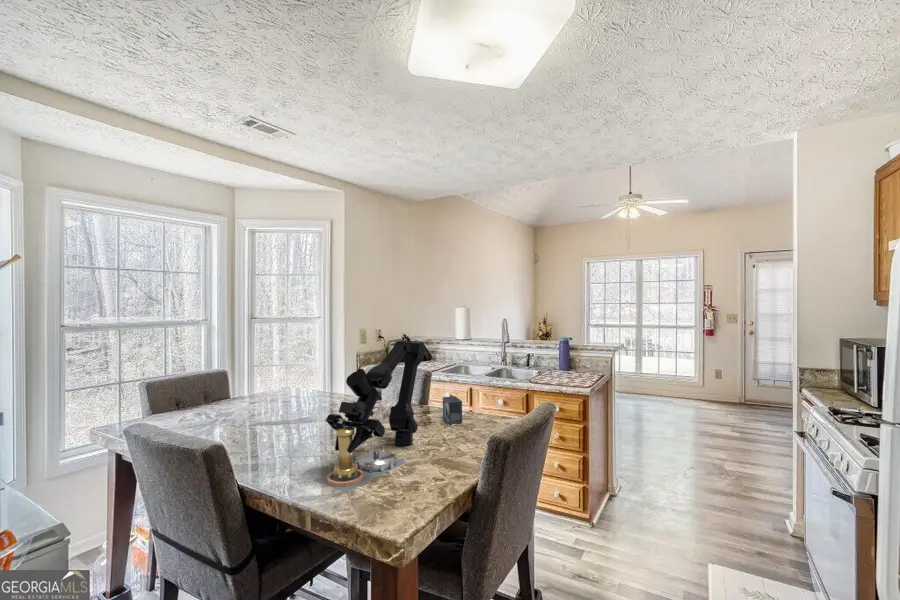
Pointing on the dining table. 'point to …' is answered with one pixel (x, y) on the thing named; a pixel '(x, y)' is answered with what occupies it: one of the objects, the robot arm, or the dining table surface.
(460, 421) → the small box
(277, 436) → the dining table surface
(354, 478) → the gear board
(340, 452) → the gold piece
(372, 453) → the gear
